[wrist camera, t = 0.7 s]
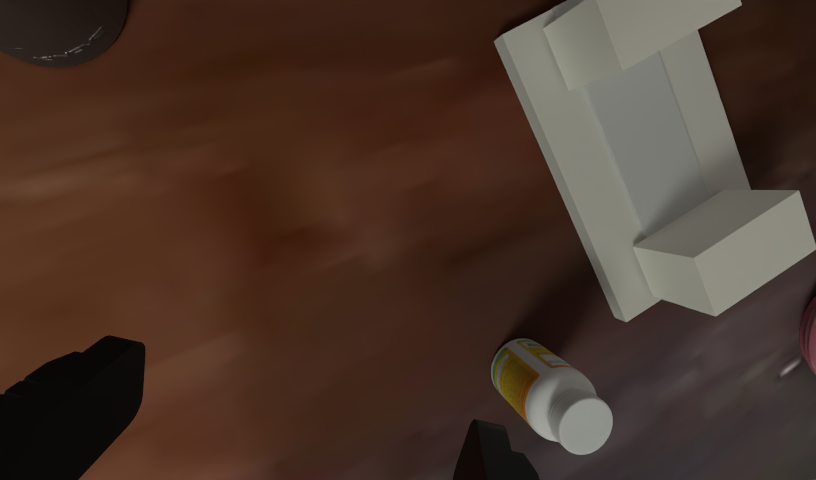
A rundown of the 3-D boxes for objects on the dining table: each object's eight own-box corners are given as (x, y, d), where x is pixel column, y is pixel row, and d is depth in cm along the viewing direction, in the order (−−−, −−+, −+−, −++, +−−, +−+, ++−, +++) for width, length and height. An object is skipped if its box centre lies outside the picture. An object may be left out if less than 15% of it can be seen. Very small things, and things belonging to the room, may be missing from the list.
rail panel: (493, 41, 34) (547, -2, 26) (655, -43, 36) (749, -106, 28) (614, 317, 39) (688, 349, 31) (748, 230, 41) (848, 240, 33)
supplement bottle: (502, 407, 38) (565, 480, 28) (479, 355, 37) (537, 413, 27) (554, 377, 39) (632, 440, 29) (533, 326, 37) (608, 373, 28)
